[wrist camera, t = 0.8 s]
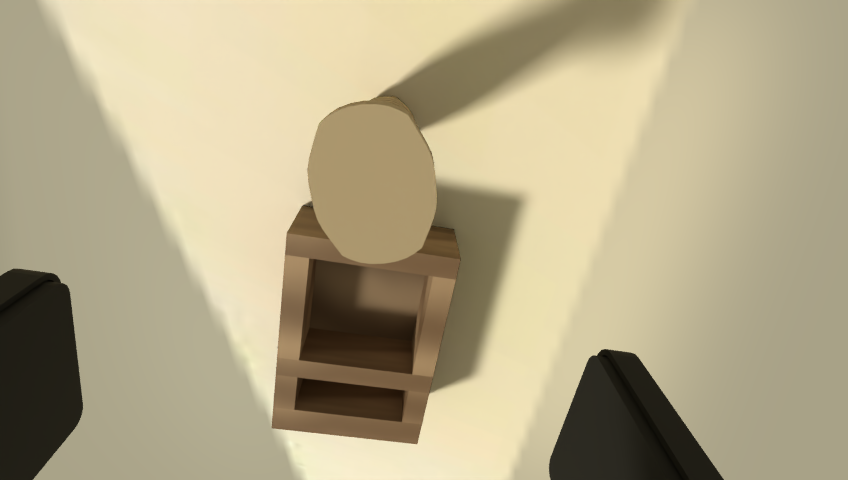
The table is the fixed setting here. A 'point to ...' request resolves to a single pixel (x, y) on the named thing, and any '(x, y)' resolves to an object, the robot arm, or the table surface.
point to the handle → (373, 181)
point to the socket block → (359, 335)
